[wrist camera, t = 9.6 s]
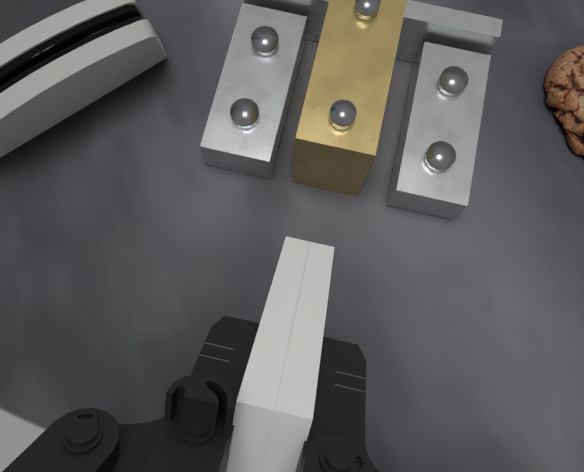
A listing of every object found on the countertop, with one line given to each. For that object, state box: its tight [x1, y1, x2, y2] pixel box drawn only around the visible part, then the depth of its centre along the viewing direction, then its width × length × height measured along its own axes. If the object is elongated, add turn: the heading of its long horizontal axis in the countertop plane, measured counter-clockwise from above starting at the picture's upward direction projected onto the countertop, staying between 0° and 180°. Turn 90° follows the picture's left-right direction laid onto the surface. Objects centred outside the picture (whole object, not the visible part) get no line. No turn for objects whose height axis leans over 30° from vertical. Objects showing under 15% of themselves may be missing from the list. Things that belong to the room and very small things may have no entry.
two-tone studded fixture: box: [200, 0, 503, 220], centre depth 38 cm, size 14×19×5 cm
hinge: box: [0, 0, 167, 158], centre depth 36 cm, size 17×5×10 cm, turn 126°
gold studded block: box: [293, 0, 407, 196], centre depth 36 cm, size 12×5×9 cm, turn 167°
